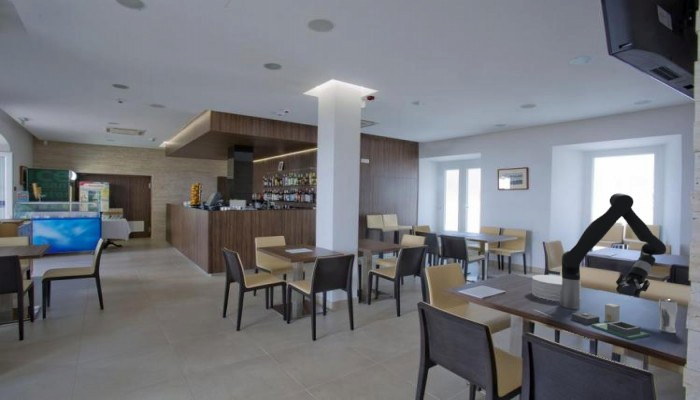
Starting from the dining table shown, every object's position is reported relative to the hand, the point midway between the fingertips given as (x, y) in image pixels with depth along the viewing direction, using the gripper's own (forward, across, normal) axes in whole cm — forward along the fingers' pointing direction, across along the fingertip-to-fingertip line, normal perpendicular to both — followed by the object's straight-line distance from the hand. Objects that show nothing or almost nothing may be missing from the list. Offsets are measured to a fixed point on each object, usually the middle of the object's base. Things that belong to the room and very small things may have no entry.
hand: (626, 293), depth 194 cm
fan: (+26, -6, -6) cm, 28 cm away
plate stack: (+7, -46, +13) cm, 48 cm away
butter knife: (+34, -16, -13) cm, 40 cm away
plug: (+18, 0, +2) cm, 18 cm away
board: (+25, +10, -5) cm, 27 cm away
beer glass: (+9, +18, +12) cm, 23 cm away
